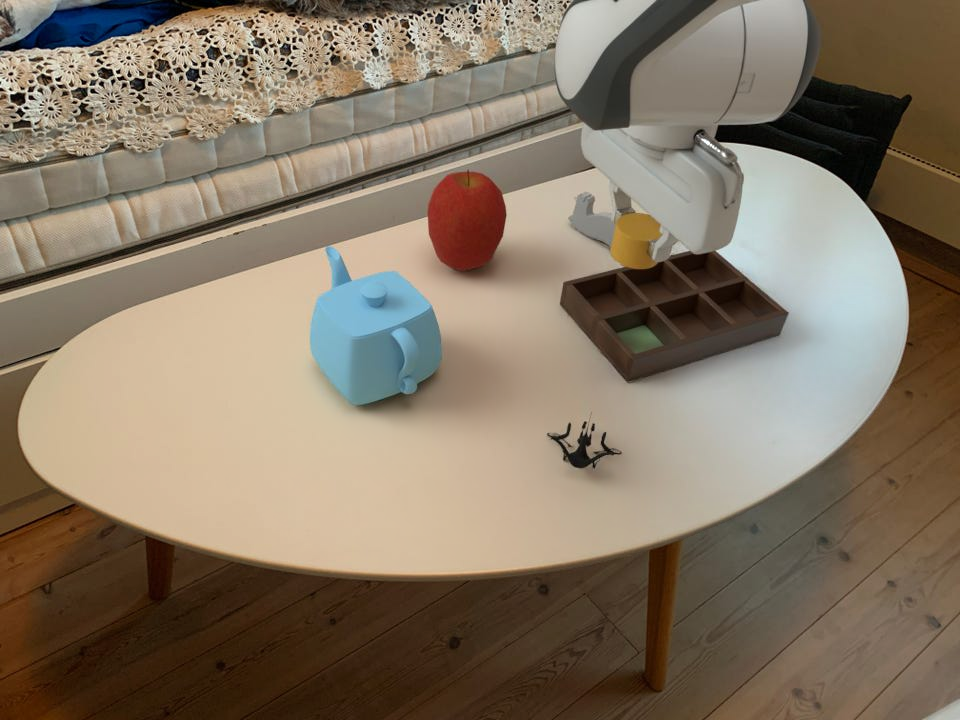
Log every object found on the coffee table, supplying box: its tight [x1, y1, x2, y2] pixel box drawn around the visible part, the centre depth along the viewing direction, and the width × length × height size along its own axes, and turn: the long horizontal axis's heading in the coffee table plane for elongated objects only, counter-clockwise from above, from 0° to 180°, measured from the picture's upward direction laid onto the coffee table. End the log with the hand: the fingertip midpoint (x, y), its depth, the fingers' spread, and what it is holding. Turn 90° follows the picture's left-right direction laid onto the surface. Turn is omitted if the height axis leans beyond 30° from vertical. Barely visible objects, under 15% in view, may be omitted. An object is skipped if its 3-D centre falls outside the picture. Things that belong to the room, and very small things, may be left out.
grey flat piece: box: [568, 191, 616, 249], centre depth 108 cm, size 6×1×10 cm
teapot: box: [309, 245, 443, 406], centre depth 84 cm, size 12×18×12 cm
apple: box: [427, 168, 508, 272], centre depth 99 cm, size 10×10×14 cm
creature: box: [546, 411, 622, 470], centre depth 78 cm, size 8×5×8 cm
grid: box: [559, 250, 790, 383], centre depth 96 cm, size 15×23×4 cm
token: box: [609, 212, 663, 269], centre depth 78 cm, size 5×5×3 cm
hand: (638, 240), depth 78 cm, fingers closed on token, 5 cm apart
